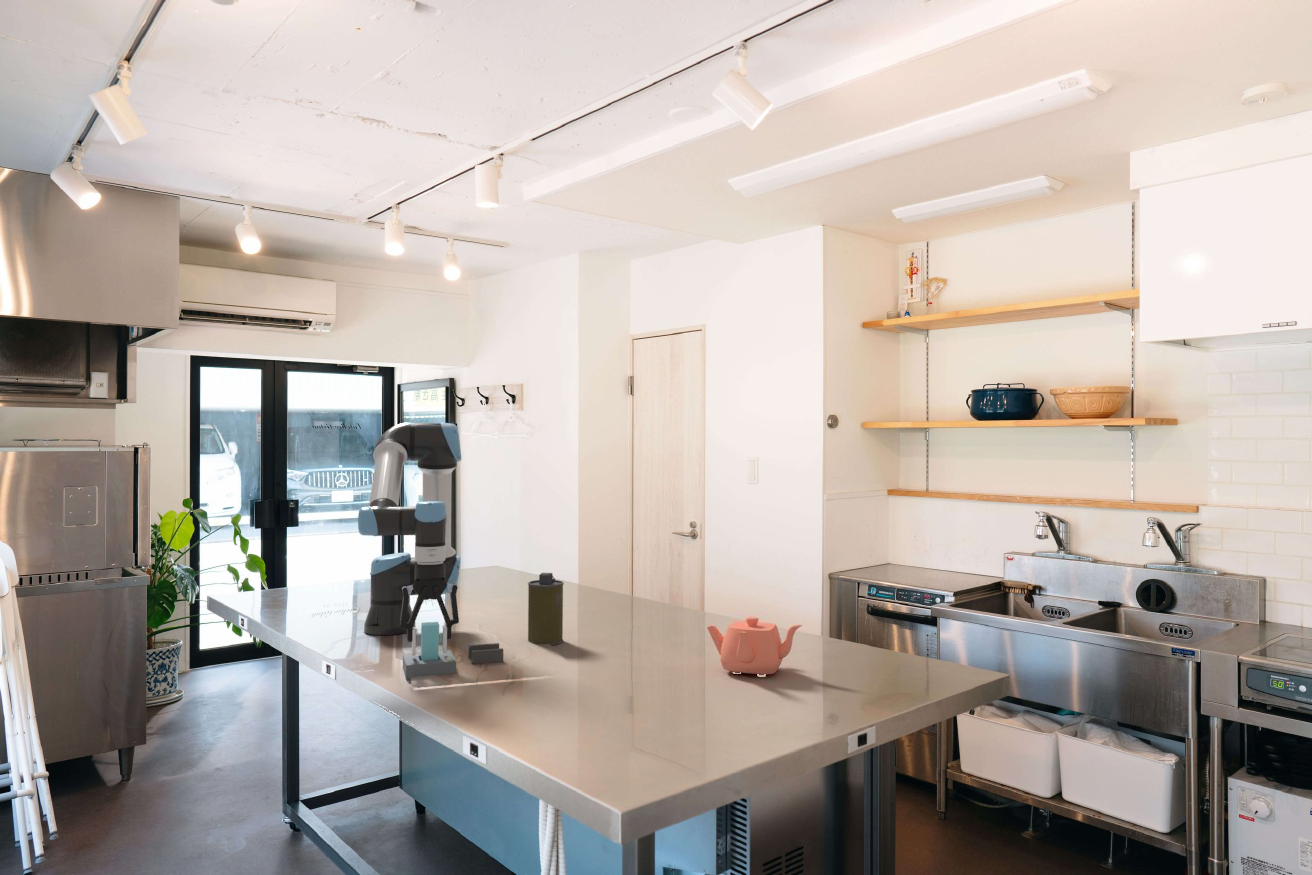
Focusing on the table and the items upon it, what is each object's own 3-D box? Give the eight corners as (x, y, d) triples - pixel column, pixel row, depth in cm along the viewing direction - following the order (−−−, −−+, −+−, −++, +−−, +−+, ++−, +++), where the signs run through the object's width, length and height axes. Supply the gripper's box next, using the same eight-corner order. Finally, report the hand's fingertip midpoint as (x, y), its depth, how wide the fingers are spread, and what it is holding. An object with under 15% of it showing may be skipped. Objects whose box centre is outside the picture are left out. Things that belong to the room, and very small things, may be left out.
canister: (556, 646, 238) (557, 576, 238) (521, 644, 240) (522, 575, 240) (568, 638, 249) (568, 571, 249) (534, 636, 251) (535, 569, 251)
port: (402, 667, 215) (403, 651, 215) (450, 663, 219) (450, 647, 219) (406, 679, 204) (406, 662, 204) (456, 675, 208) (456, 658, 208)
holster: (468, 659, 224) (468, 645, 224) (498, 656, 226) (498, 642, 226) (472, 666, 217) (472, 651, 217) (503, 663, 220) (503, 649, 220)
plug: (420, 669, 213) (421, 622, 213) (436, 668, 214) (437, 621, 214) (421, 673, 209) (422, 625, 209) (437, 672, 210) (439, 624, 211)
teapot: (803, 676, 210) (803, 621, 210) (740, 685, 202) (741, 627, 202) (762, 659, 226) (763, 608, 226) (703, 667, 218) (703, 613, 218)
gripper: (389, 566, 205) (388, 659, 205) (472, 562, 212) (471, 653, 212) (388, 561, 212) (387, 652, 212) (467, 558, 219) (467, 646, 219)
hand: (429, 652), depth 212 cm, fingers open, 7 cm apart
